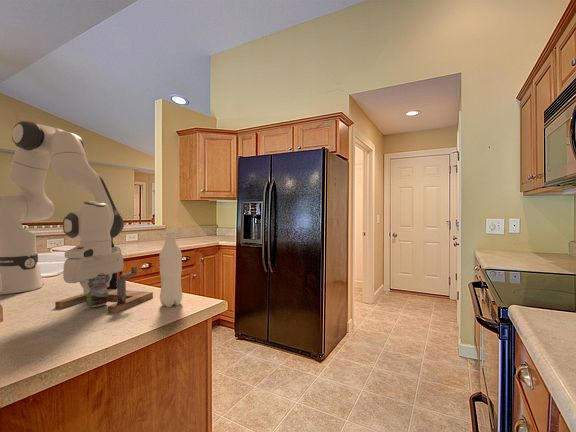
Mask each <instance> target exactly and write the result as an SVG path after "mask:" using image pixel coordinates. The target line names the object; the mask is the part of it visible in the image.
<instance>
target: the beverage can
mask: <svg viewBox="0 0 576 432" xmlns="http://www.w3.org/2000/svg"><path fill="white" fill-rule="evenodd" d="M87 284H88V286H89V287H91V293H88V294H86V297H87V301H86V305H87V306H88V307H90V308H97V307H102V306H105V305H106V304H107V303H108V302H109V301H110V300H109V299H108V291H107V283H106V275H105V274H104V273H100V274H98V275H97V277H96V278H93V279H89V283H87Z"/></svg>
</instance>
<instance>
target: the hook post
mask: <svg viewBox="0 0 576 432" xmlns="http://www.w3.org/2000/svg"><path fill="white" fill-rule="evenodd" d="M130 267H131V268H130V269H131V270H130V272H126V273H123V274H120V275H119V277H117V301H116V303H117V302H118V304H123V303H126V290H127V289H126V288H127V285H126V281H127V280H126V279H128V278H131V277H134V276H137V274H138V267H137V266H135V265H134V266H130Z"/></svg>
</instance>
